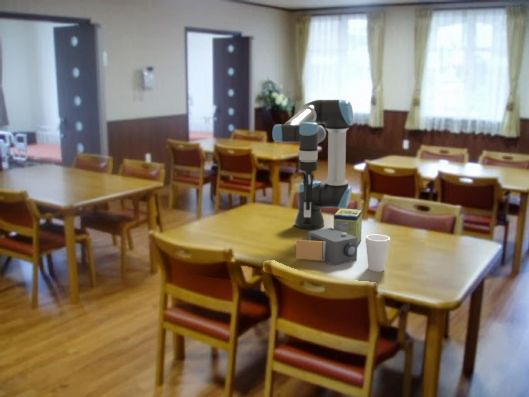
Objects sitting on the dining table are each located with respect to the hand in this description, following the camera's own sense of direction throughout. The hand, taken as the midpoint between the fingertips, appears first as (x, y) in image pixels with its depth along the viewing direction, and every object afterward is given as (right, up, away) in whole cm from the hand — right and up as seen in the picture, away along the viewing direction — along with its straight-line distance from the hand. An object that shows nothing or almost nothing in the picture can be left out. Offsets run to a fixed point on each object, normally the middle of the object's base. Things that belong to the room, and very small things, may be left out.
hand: (307, 216), depth 225 cm
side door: (+1, -18, 0) cm, 18 cm away
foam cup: (+27, -21, -8) cm, 35 cm away
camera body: (+11, -18, +6) cm, 22 cm away
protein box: (+20, -14, +23) cm, 34 cm away
